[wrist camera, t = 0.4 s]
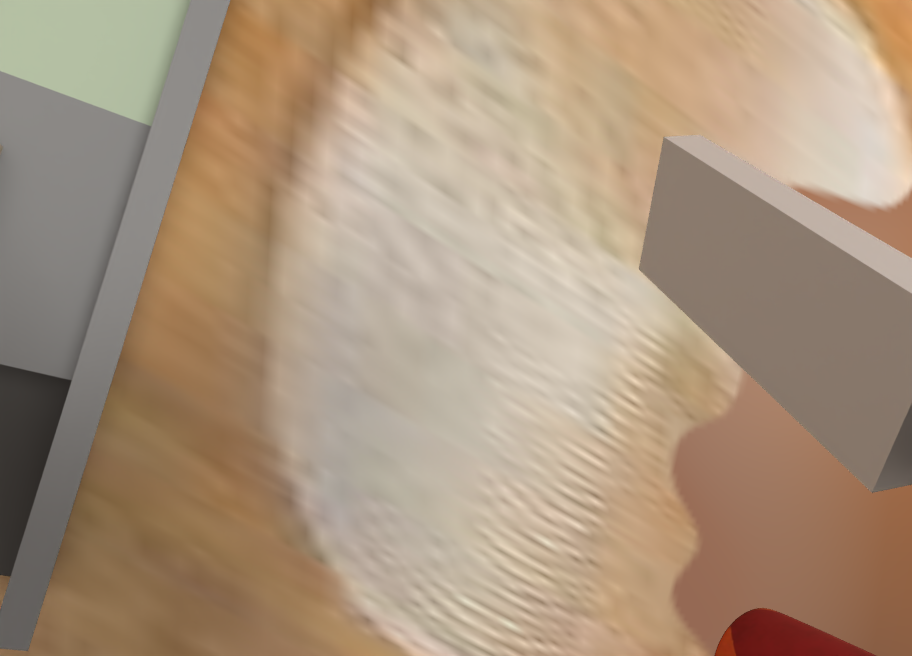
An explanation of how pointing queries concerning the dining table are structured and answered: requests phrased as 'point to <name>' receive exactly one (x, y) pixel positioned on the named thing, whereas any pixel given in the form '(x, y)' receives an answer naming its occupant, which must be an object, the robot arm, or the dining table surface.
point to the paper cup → (780, 638)
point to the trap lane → (77, 239)
